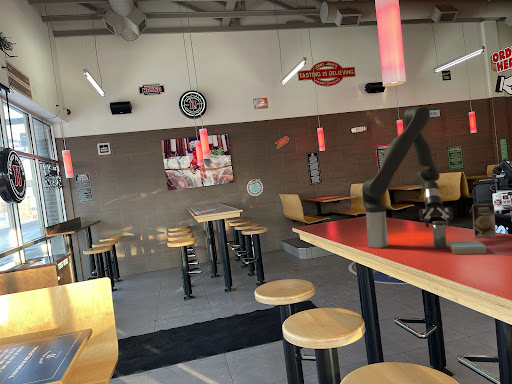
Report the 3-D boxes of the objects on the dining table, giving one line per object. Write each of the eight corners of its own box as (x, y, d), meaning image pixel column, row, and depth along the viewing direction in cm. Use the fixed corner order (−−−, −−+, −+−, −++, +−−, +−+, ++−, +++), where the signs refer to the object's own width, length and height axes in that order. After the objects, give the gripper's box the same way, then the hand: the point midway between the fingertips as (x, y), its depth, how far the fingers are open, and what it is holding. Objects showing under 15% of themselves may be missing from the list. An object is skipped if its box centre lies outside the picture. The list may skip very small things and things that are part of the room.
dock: (453, 254, 156) (453, 247, 156) (448, 248, 168) (448, 241, 168) (486, 253, 153) (486, 246, 153) (479, 247, 164) (478, 240, 164)
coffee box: (474, 237, 185) (472, 205, 185) (474, 235, 191) (471, 204, 190) (496, 237, 181) (494, 204, 181) (495, 235, 187) (492, 203, 186)
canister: (434, 248, 170) (432, 223, 170) (432, 246, 175) (431, 221, 175) (448, 248, 168) (446, 222, 168) (446, 246, 173) (444, 220, 173)
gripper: (417, 195, 184) (421, 222, 174) (449, 193, 180) (456, 220, 169) (417, 205, 190) (421, 231, 179) (448, 203, 185) (454, 230, 175)
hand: (438, 226), depth 174 cm, fingers open, 8 cm apart
